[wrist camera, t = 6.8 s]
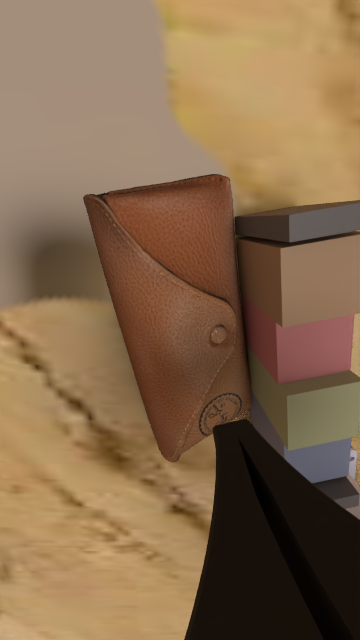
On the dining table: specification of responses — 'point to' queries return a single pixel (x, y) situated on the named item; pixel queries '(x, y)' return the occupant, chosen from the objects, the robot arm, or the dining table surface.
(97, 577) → the dining table surface
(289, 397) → the book row
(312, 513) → the robot arm
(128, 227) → the sunglasses case
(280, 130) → the dining table surface
